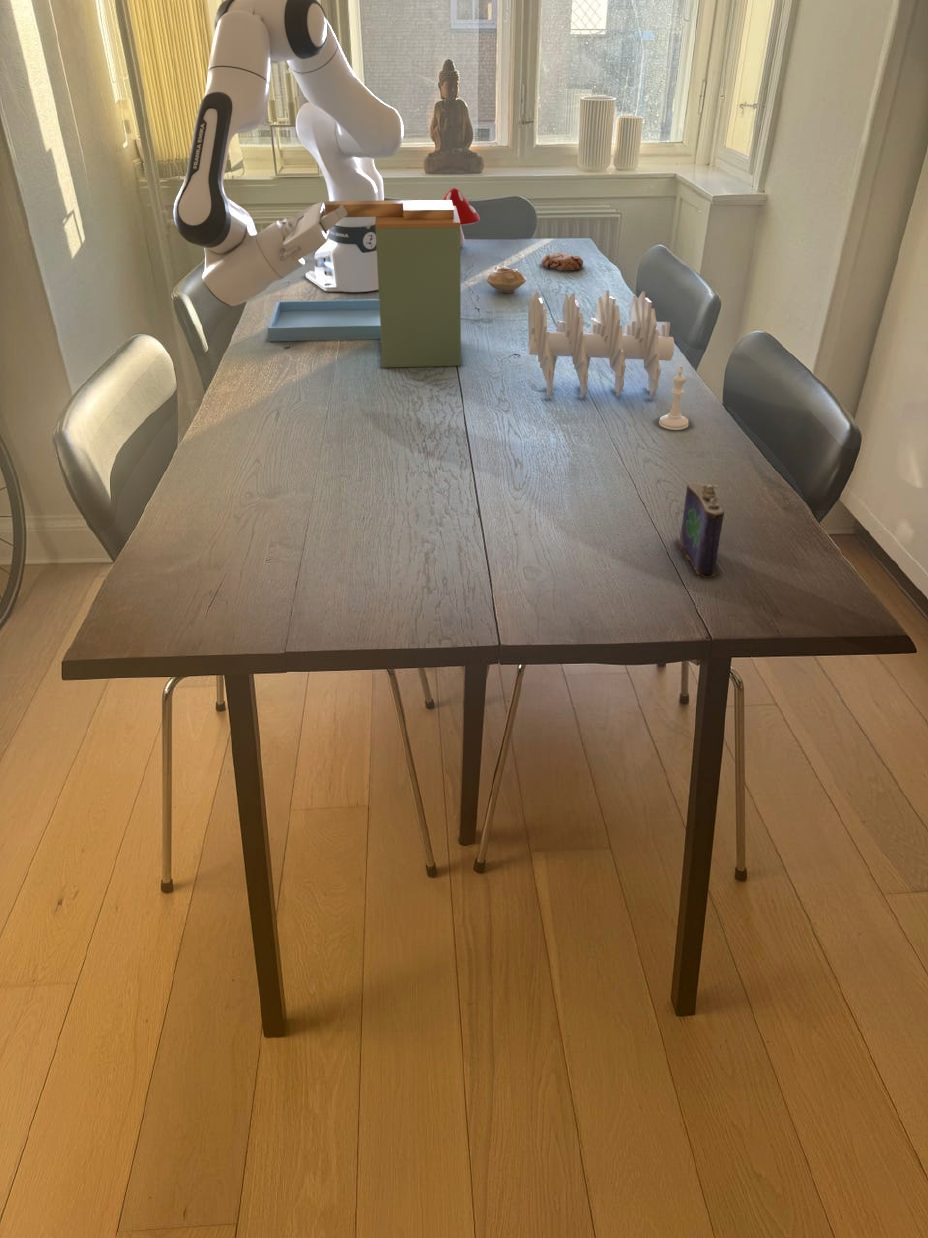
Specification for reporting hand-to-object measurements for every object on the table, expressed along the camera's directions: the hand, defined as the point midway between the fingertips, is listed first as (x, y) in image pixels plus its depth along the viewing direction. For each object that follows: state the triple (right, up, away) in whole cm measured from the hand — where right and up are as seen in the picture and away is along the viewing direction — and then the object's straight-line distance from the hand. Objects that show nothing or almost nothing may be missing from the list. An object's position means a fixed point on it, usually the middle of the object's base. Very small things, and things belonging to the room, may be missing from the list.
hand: (346, 206), depth 171 cm
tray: (-3, -12, +31) cm, 34 cm away
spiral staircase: (+45, -34, 0) cm, 57 cm away
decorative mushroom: (+19, +26, +86) cm, 92 cm away
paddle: (+8, -1, +1) cm, 8 cm away
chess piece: (+57, -42, -12) cm, 71 cm away
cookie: (+46, +15, +70) cm, 85 cm away
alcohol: (-4, +22, +80) cm, 83 cm away
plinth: (+13, -22, +16) cm, 30 cm away
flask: (+52, -67, -48) cm, 97 cm away
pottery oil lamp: (+31, +4, +54) cm, 62 cm away
